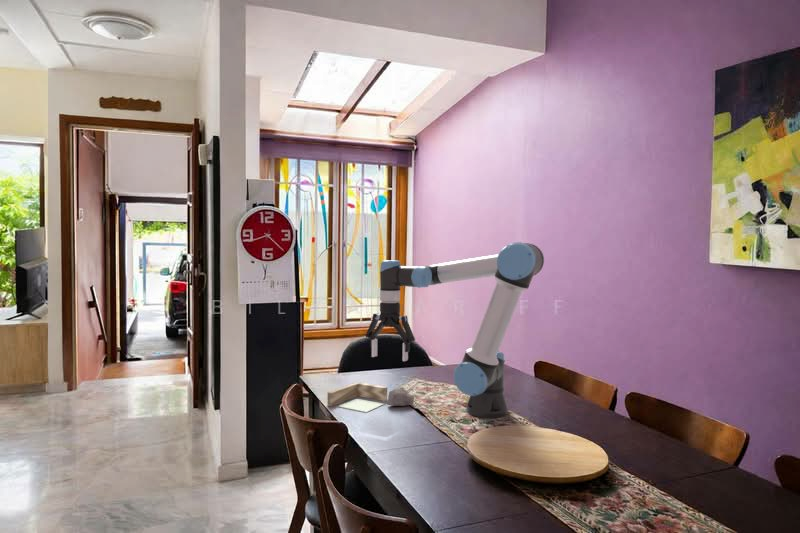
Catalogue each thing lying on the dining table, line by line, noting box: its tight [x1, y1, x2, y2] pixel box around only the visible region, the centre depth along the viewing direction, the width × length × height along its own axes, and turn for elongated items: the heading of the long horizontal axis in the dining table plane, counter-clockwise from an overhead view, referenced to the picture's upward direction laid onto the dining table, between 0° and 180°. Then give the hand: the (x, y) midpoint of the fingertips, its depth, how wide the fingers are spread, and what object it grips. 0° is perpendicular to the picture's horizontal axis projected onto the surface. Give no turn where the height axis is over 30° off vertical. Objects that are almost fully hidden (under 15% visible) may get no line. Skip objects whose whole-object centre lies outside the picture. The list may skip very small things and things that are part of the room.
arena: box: [327, 382, 388, 407], centre depth 203 cm, size 15×18×5 cm
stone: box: [386, 388, 415, 407], centre depth 199 cm, size 10×8×6 cm
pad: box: [337, 398, 385, 414], centre depth 199 cm, size 13×12×1 cm
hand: (389, 358), depth 197 cm, fingers open, 13 cm apart
